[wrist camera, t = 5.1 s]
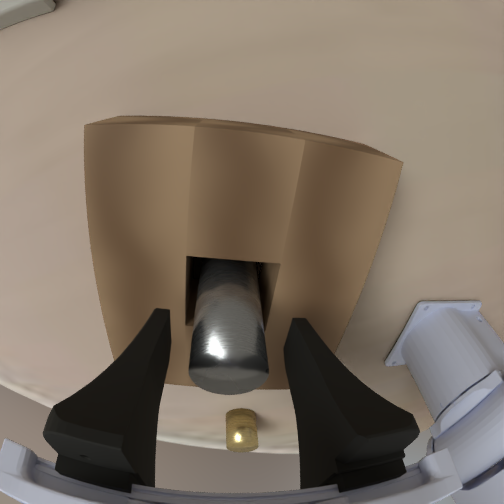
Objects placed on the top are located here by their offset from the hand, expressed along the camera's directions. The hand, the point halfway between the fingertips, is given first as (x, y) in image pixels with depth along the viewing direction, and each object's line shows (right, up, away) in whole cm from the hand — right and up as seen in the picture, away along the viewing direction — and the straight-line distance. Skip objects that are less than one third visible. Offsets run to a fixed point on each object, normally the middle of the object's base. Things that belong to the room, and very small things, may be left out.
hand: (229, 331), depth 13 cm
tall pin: (0, +3, +6) cm, 7 cm away
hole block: (0, +3, +6) cm, 7 cm away
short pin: (0, -14, +16) cm, 21 cm away
